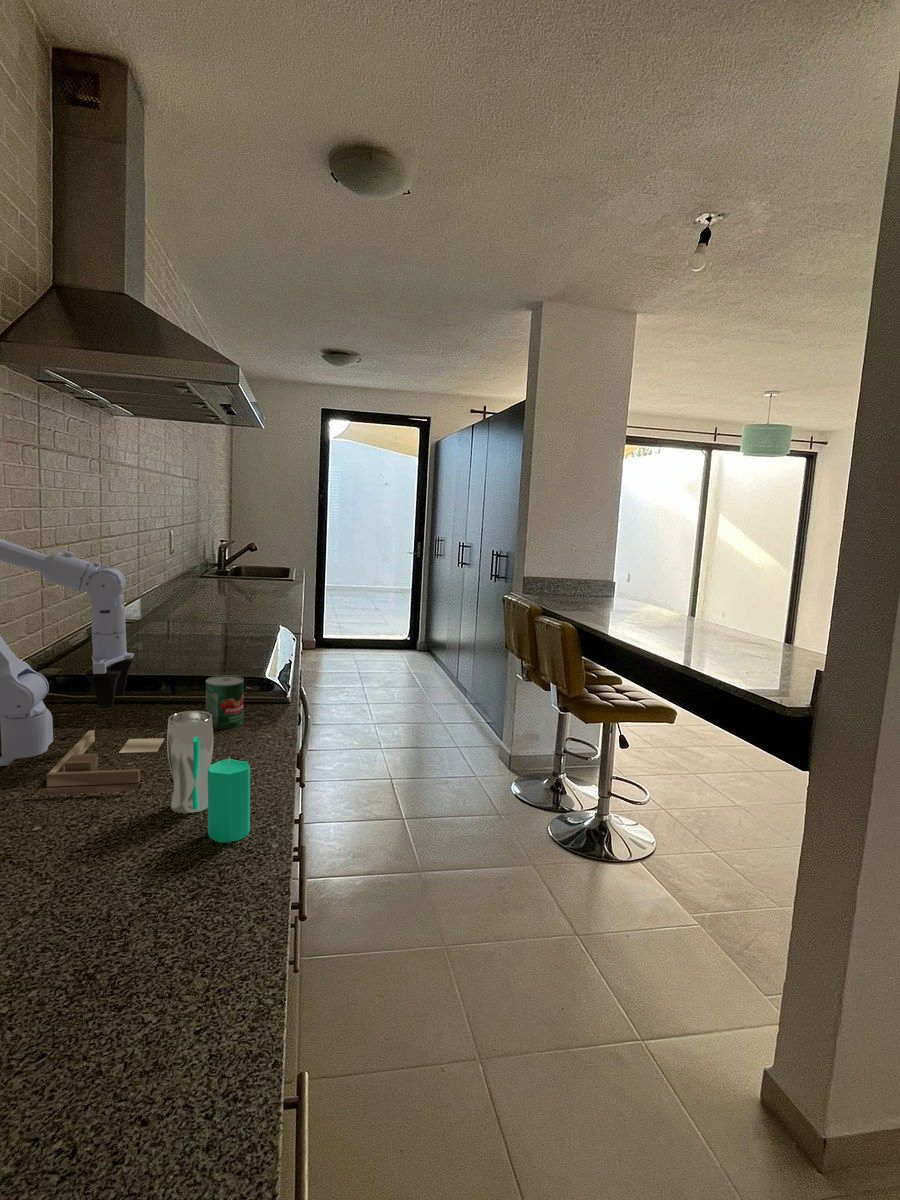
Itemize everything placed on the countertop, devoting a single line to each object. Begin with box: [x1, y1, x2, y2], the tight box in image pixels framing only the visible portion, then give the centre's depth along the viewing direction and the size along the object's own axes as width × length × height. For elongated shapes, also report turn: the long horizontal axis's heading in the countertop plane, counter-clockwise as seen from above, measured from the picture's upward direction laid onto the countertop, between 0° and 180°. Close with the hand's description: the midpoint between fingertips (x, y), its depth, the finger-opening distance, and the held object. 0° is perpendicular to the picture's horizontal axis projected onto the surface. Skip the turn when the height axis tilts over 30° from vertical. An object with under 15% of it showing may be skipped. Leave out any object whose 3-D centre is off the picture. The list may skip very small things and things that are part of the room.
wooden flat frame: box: [46, 729, 166, 795], centre depth 121 cm, size 22×14×3 cm, turn 12°
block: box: [65, 753, 99, 772], centre depth 113 cm, size 4×4×4 cm
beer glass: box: [166, 710, 214, 815], centre depth 106 cm, size 7×7×15 cm
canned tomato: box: [205, 675, 245, 730], centre depth 144 cm, size 8×8×11 cm
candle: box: [207, 756, 251, 843], centre depth 98 cm, size 6×6×12 cm
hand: (112, 701), depth 126 cm, fingers open, 7 cm apart
